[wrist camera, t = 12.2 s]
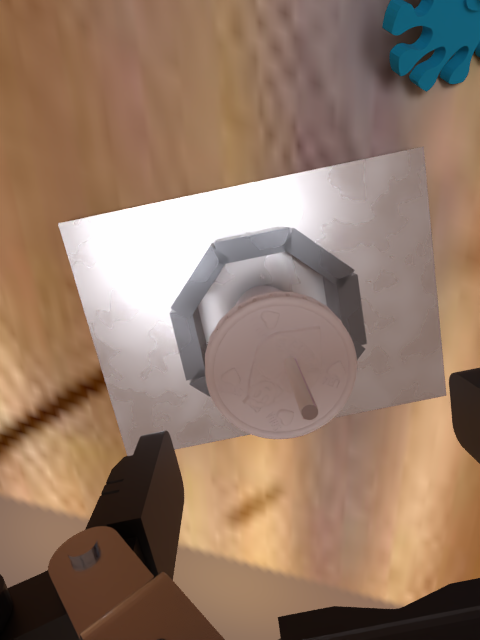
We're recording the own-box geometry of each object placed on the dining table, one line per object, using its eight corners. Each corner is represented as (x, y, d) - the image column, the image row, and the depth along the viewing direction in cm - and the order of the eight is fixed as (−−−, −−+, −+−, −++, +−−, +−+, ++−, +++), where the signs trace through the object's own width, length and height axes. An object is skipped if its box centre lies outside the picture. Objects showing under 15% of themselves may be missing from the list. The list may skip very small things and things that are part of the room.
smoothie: (334, 305, 26) (444, 408, 13) (270, 380, 28) (308, 545, 14) (255, 242, 25) (284, 281, 12) (192, 322, 26) (152, 442, 13)
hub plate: (67, 223, 26) (31, 223, 21) (412, 150, 26) (455, 134, 21) (133, 447, 30) (114, 490, 25) (435, 386, 30) (476, 419, 25)
